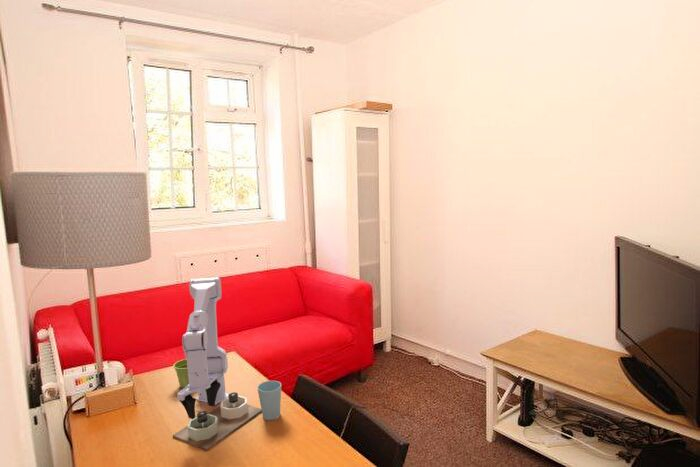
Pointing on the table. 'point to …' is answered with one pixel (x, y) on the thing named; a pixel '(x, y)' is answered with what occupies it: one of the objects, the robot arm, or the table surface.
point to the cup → (270, 399)
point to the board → (219, 428)
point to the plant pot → (182, 372)
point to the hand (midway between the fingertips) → (201, 411)
